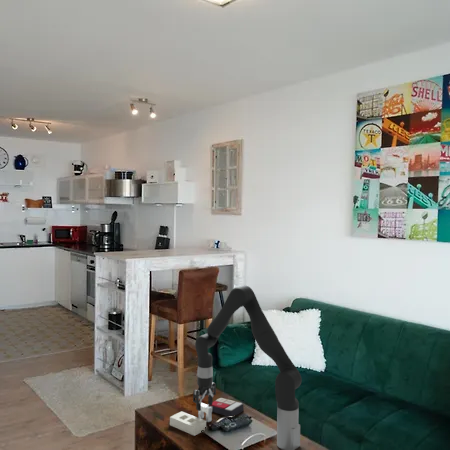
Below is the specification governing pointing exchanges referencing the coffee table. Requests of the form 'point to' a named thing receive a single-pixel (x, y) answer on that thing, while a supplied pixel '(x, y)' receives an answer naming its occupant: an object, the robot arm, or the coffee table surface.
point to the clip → (207, 410)
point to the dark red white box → (227, 407)
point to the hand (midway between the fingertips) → (204, 407)
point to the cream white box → (187, 423)
